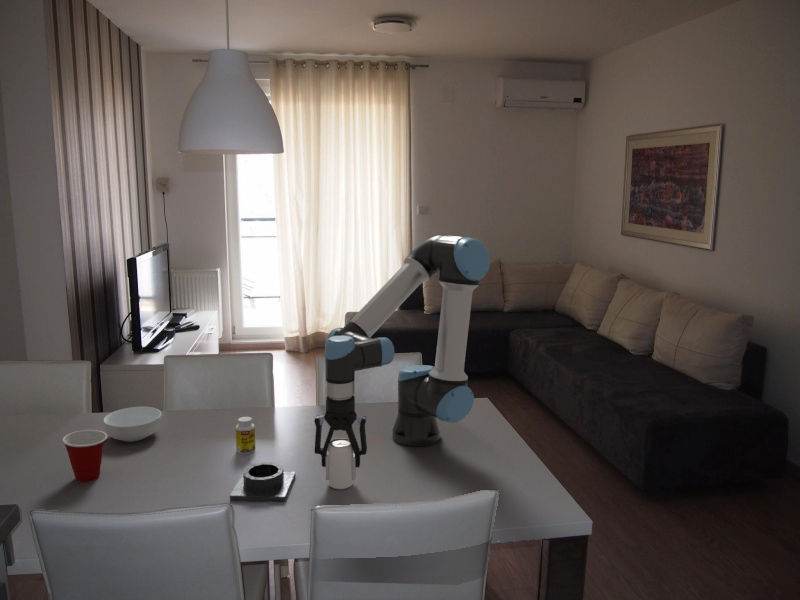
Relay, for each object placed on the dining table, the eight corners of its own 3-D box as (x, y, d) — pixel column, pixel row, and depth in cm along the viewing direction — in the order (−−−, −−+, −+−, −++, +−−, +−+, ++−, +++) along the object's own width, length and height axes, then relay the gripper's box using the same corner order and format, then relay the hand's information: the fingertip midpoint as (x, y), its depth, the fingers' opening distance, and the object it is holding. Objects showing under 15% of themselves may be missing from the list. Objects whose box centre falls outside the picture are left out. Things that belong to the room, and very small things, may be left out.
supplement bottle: (240, 456, 185) (238, 423, 184) (233, 449, 190) (232, 417, 188) (258, 452, 188) (257, 419, 187) (251, 445, 193) (250, 414, 191)
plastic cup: (103, 486, 167) (99, 443, 165) (59, 488, 166) (55, 445, 163) (115, 467, 178) (112, 427, 175) (75, 469, 176) (71, 429, 174)
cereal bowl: (92, 442, 195) (90, 420, 193) (133, 423, 210) (132, 403, 209) (135, 451, 188) (133, 429, 187) (174, 431, 204) (172, 410, 202)
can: (329, 479, 172) (328, 437, 169) (353, 478, 172) (352, 437, 170) (328, 490, 165) (327, 447, 163) (353, 489, 166) (352, 447, 164)
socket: (295, 476, 173) (295, 459, 172) (284, 502, 159) (284, 483, 158) (244, 475, 173) (244, 458, 173) (230, 501, 160) (229, 482, 159)
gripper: (378, 391, 168) (378, 472, 172) (305, 390, 168) (307, 470, 172) (376, 400, 160) (376, 485, 165) (300, 399, 161) (302, 483, 165)
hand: (341, 477), depth 168 cm, fingers closed on can, 6 cm apart
